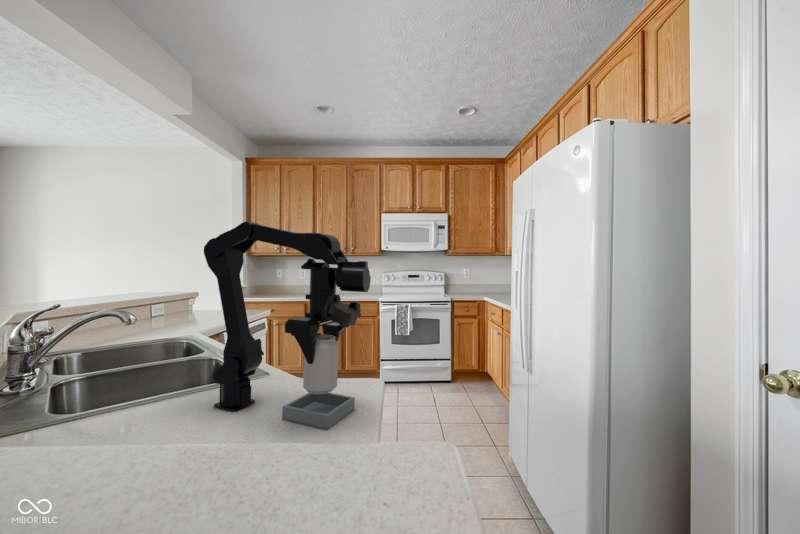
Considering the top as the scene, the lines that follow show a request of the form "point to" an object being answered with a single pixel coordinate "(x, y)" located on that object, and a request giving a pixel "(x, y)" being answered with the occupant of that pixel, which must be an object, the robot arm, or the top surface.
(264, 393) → the top surface
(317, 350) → the can
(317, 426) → the bin
